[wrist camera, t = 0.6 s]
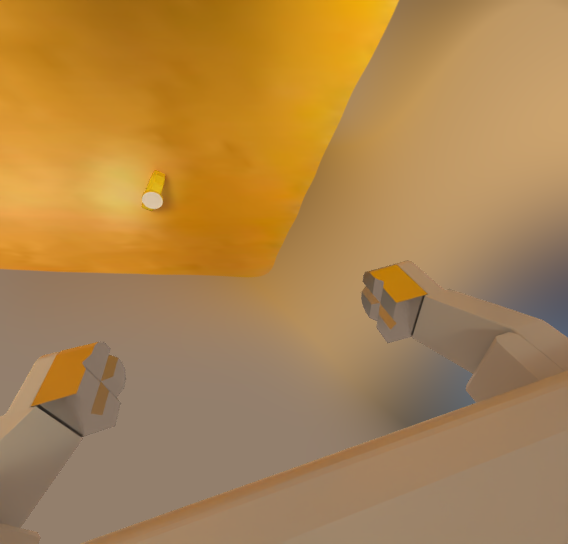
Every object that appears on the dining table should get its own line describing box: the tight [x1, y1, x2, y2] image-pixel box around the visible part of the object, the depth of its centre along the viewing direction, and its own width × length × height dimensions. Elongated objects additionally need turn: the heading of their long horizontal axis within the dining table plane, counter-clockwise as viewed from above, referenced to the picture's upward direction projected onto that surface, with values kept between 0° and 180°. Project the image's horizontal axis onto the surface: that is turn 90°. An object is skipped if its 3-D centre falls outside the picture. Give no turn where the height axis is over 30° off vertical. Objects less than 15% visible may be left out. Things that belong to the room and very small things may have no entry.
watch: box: [142, 170, 165, 211], centre depth 41 cm, size 6×3×6 cm, turn 144°
